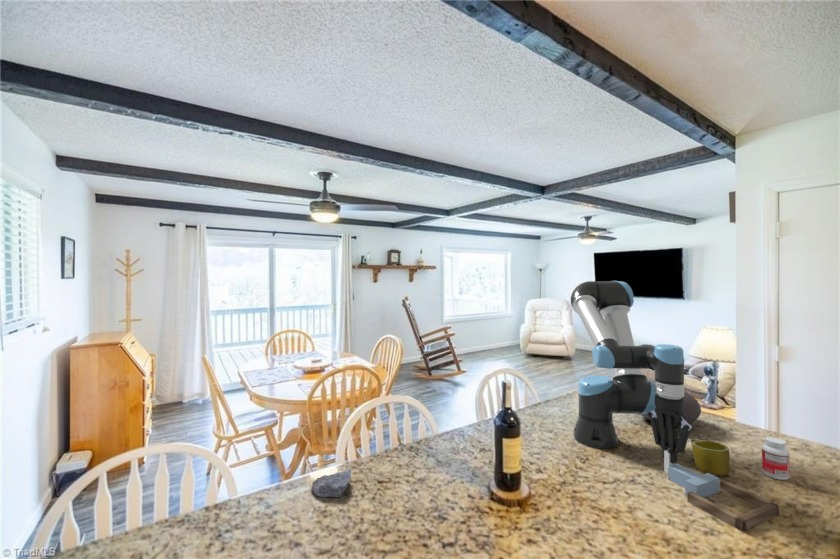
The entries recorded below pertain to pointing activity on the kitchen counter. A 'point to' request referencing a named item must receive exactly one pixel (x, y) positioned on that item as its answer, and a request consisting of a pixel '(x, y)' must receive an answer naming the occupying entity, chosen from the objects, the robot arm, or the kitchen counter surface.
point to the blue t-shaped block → (693, 480)
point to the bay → (741, 522)
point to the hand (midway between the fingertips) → (669, 471)
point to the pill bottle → (775, 458)
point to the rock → (332, 484)
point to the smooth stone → (687, 408)
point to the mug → (711, 457)
